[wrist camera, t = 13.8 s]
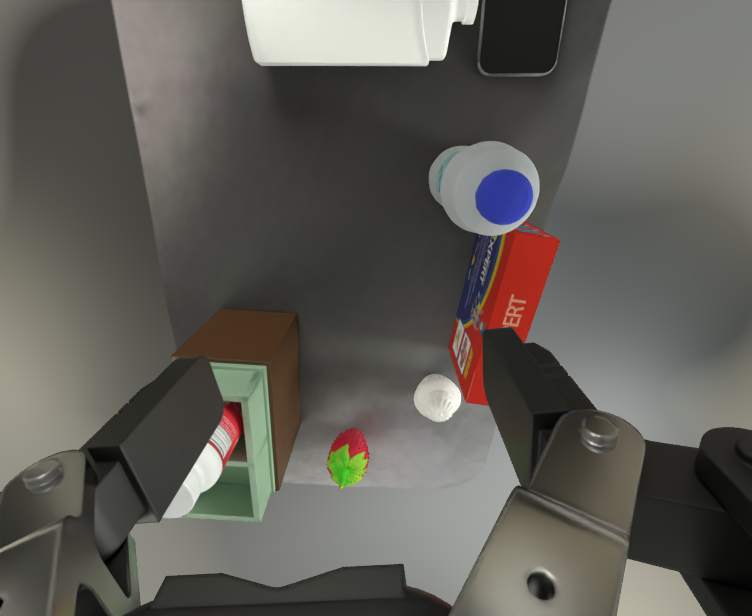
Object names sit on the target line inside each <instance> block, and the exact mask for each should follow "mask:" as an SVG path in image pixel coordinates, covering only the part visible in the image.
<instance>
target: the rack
mask: <svg viewBox="0 0 752 616" xmlns="http://www.w3.org/2000/svg"><path fill="white" fill-rule="evenodd" d="M201 356H203V357H206V358H207V359H208V360H209V362H210V364H211V367H212V370H213V373H214V375H215V378H216V381H217V384H218V387H219V390H220V392H221V395H222V398H223V401H230V402H241V407H242V416H243V425H244V429H243V431H242V433H241V435H240V437H239V439H238V441H237V443H236V445H235V447H234V449H233V451H232V453H231V455H230V457H229V459H228V461H227V463H226V465H225V467H224V469H223V471H222V473H221V475H220V477H219V478H218V480H217V481H216V483H215V484H214V485H213V486H212V487H211V488H209V489H208V490H206V491H204V492H202V493H200V495H199V497H198V499H197V501H196V502H195V504H194V506H193V508H192V509H191V510H190V511H189V512H188V513H187V514H185V515H183V516H181V517H190V518H191V517H192V518H206V519H222V520H237V521H253V522H261V520H262V516H263V514H264V511H265V507H266V505H267V502H268V499H269V496H270V493H271V492H274V491H279V489H280V486H281V483H282V480H283V477H284V474H285V470H286V467H287V464H288V461H289V458H290V455H291V452H292V448H293V445H294V442H295V439H296V436H297V433H298V429H299V426H300V423H301V416H300V386H299V356H298V325H297V313H283V312H267V311H251V310H235V309H220V310H219V311H218V312H217V313H216V314H215V315H214V316H213V317H211V318H210V319H209V320H208V321H207V322H206V323H205V324H204V325H203V326H202V327H201V328H200V329H199V330H198V331H197V332H196V333H195V334H194V335H193V336H192V337H191V338H189V339H188V340H187V341H186V342H185V343H184V344H183V345H182V346H181V347H180V348H179V349H178V350H177V351H176V352H175V353H174V354H173V355H172V356H171V359H172V362H173V361H175V360H176V359H180V358H190V357H201Z"/></svg>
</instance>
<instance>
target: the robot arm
mask: <svg viewBox="0 0 752 616" xmlns="http://www.w3.org/2000/svg"><path fill="white" fill-rule="evenodd" d="M482 352H483V385H484V391H485V395H486V399H487V401H488V404H489V406H490V409H491V411H492V414H493V416H494V419H495V421H496V424H497V426H498V429H499V431H500V434H501V436H502V439H503V442H504V444H505V447H506V449H507V451H508V454H509V457H510V459H511V461H512V464H513V467H514V469H515V472H516V474H517V477H518V479H519V482H520V484H521V486H516V487H515V488H514V489H513V491H512V492H511V494H510V496H509V498H508V499H507V501H506V503H505V505H504V507H503V510H502V511H501V513H500V515H499V517H498V519H497V521H496V523H495V525H494V527H493V529H492V531H491V533H490V535H489V537H488V539H487V541H486V543H485V545H484V547H483V549H482V551H481V552H480V554H479V556H478V559H477V561H476V562H475V565H474V566H473V568H472V570H471V572H470V574H469V576H468V578H467V580H466V582H465V584H464V586H463V588H462V590H461V592H460V594H459V596H458V598H457V600H456V602H455V604H454V605H453V607H452V606H451V605H450V604H448V603H447V602H445V601H443V600H441V599H440V598H438V597H436V596H435V595H432V594H430V593H427V592H425V591H423V590H420V589H417V588H413V587H409V586H407V585H406V578H405V571H404V565H403V564H393V565H374V566H356V567H342V568H339V569H336V570H332V571H329V572H326V573H323V574H320V575H317V576H314V577H311V578H308V579H305V580H302V581H299V582H296V583H293V584H289V585H286V586H283V587H270V586H266V585H263V584H259V583H256V582H252V581H248V580H245V579H241V578H238V577H234V576H230V575H227V574H223V573H218V574H197V575H177V576H166V577H165V579H164V581H163V583H162V585H161V587H160V589H159V591H158V593H157V595H156V596H155V599H154V600H153V601H151V602H149V603H146V604H144V605H142V606H141V604H140V593H139V581H138V570H137V559H136V548H135V541H134V538H133V537H132V535H131V533H130V531H131V530H132V528H133V527H134V525H135V524H139V523H155V522H160V520H161V518H162V517H163V515H164V514H165V512H166V510H167V509H168V507H169V505H170V504H171V502H172V501H173V499H174V497H175V496H176V494H177V492H178V491H179V489H180V487H181V486H182V484H183V483H184V481H185V479H186V478H187V476H188V474H189V473H190V471H191V469H192V468H193V466H194V465H195V463H196V461H197V460H198V458H199V456H200V455H201V453H202V451H203V450H204V448H205V446H206V445H207V443H208V442H209V440H210V438H211V437H212V435H213V433H214V432H215V430H216V428H217V427H218V425H219V424H220V422H221V420H222V417H223V413H224V402H223V398H222V395H221V392H220V390H219V387H218V384H217V381H216V378H215V375H214V373H213V370H212V367H211V364H210V362H209V360H208V359H207V358H206V357H203V356H201V357H190V358H180V359H176V360H175V361H173V362H172V364H170V365H169V366H168V367H167V368H166V369H165V370H164V371H163V372H162V373H161V374H160V375H159V376H158V377H157V378H156V380H154V381H153V382H151V383H150V384H148V385H147V386H145V387H143V388H142V389H141V390H140V391H139V392H138V393H137V394H136V395H135V396H134V397H133V398H132V399H130V400H129V403H126V405H124V407H122V408H121V409H120V410H119V411H118V414H115V415H114V416H113V417H112V418H111V419H110V420H109V421H108V422H107V423H106V424H105V425H104V426H103V427H102V428H101V429H100V430H99V431H98V432H97V433H96V434H95V435H94V436H93V437H92V438H90V439H89V441H87V442H86V444H85V445H83V446H82V447H81V448H80V449H79V450H68V451H62V452H59V453H56V454H53V455H51V456H48V457H46V458H44V459H41V460H40V461H38V462H36V463H34V464H32V465H31V466H29V467H27V468H26V469H24V470H23V471H22V472H20V473H19V474H18V475H16V476H15V477H14V478H13V479H12V480H11V481H10V482H9V483H8V484H7V485H6V486H5V488H4V489H3V491H2V492H0V616H617V609H618V604H619V599H620V593H621V588H622V581H623V577H624V571H625V565H626V560H627V559H632V560H635V561H639V562H643V563H647V564H651V565H655V566H659V567H663V568H667V569H670V570H675V571H678V572H680V574H681V575H682V577H683V579H684V580H685V582H686V583H687V585H688V586H689V588H690V590H691V591H692V593H693V594H694V596H695V597H696V599H697V601H698V602H699V604H700V606H701V607H702V609H703V610H704V612H705V614H706V615H707V616H752V430H747V429H742V428H734V427H722V428H715V429H712V430H709V431H707V432H706V433H705V434H704V435H703V437H702V439H701V442H700V446H699V448H693V447H686V446H680V445H673V444H666V443H660V442H654V441H649V440H645V439H643V437H642V435H641V434H640V432H639V431H638V430H637V429H636V428H635V427H633V426H632V425H631V424H630V423H628V422H627V421H625V420H624V419H622V418H620V417H617V416H615V415H613V414H610V413H607V412H603V411H599V410H597V409H596V408H595V407H594V405H593V404H592V403H591V402H590V400H589V399H588V398H587V397H586V395H585V394H584V393H583V392H582V390H581V389H580V388H579V387H578V385H577V384H576V383H575V382H574V380H573V379H572V378H571V377H570V376H568V373H567V372H566V371H565V370H564V368H563V367H562V366H560V364H559V362H558V361H557V359H556V358H555V357H554V356H553V355H552V353H551V352H550V351H548V350H546V349H545V348H543V347H541V346H539V345H538V344H536V343H523V341H522V340H521V339H520V337H519V336H518V334H517V333H516V332H515V330H514V329H513V328H512V327H504V328H494V329H484V330H483V335H482Z"/></svg>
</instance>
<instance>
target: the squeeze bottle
mask: <svg viewBox="0 0 752 616" xmlns="http://www.w3.org/2000/svg"><path fill="white" fill-rule="evenodd" d="M478 1H479V0H242V5H243V12H244V18H245V23H246V29H247V34H248V38H249V43H250V47H251V51H252V54H253V58H254V60H255V61H256V62H257V63H258V64H260V65H261V66H427V65H428V63H429V61H442V60H443V59H444V58H445V56H446V53H447V48H448V42H449V37H450V32H451V27H452V23H453V22H461V23H462V25H472V24H473V23H474V20H475V17H476V12H477V7H478Z"/></svg>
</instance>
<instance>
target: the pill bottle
mask: <svg viewBox="0 0 752 616" xmlns="http://www.w3.org/2000/svg"><path fill="white" fill-rule="evenodd" d="M223 402H224V413H223V417H222V420H221V422H220V424H219V425H218V427H217V428H216V430H215V432H214V433H213V435H212V437H211V438H210V440H209V442H208V443H207V445H206V446H205V448H204V450H203V451H202V453H201V455H200V456H199V458H198V460H197V461H196V463H195V465H194V466H193V468H192V469H191V471H190V473H189V474H188V476H187V478H186V479H185V481H184V483H183V484H182V486H181V487H180V489H179V491H178V492H177V494H176V496H175V497H174V499H173V501H172V502H171V504H170V505H169V507H168V509H167V510H166V512H165V514H164V515H163V518H176V517H180V516H183V515H185V514H187V513H188V512H189V511H190V510H191V509H192V508H193V506H194V504H195V502H196V501H197V499H198V497H199V495H200V493H202V492H204V491H206V490H208V489H209V488H211V487H212V486H213V485H214V484H215V483H216V481H217V480H218V478H219V477H220V475H221V473H222V471H223V469H224V467H225V465H226V463H227V461H228V459H229V457H230V455H231V453H232V451H233V449H234V447H235V445H236V443H237V441H238V439H239V437H240V435H241V433H242V431H243V429H244V425H243V416H242V407H241V402H230V401H223Z"/></svg>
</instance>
